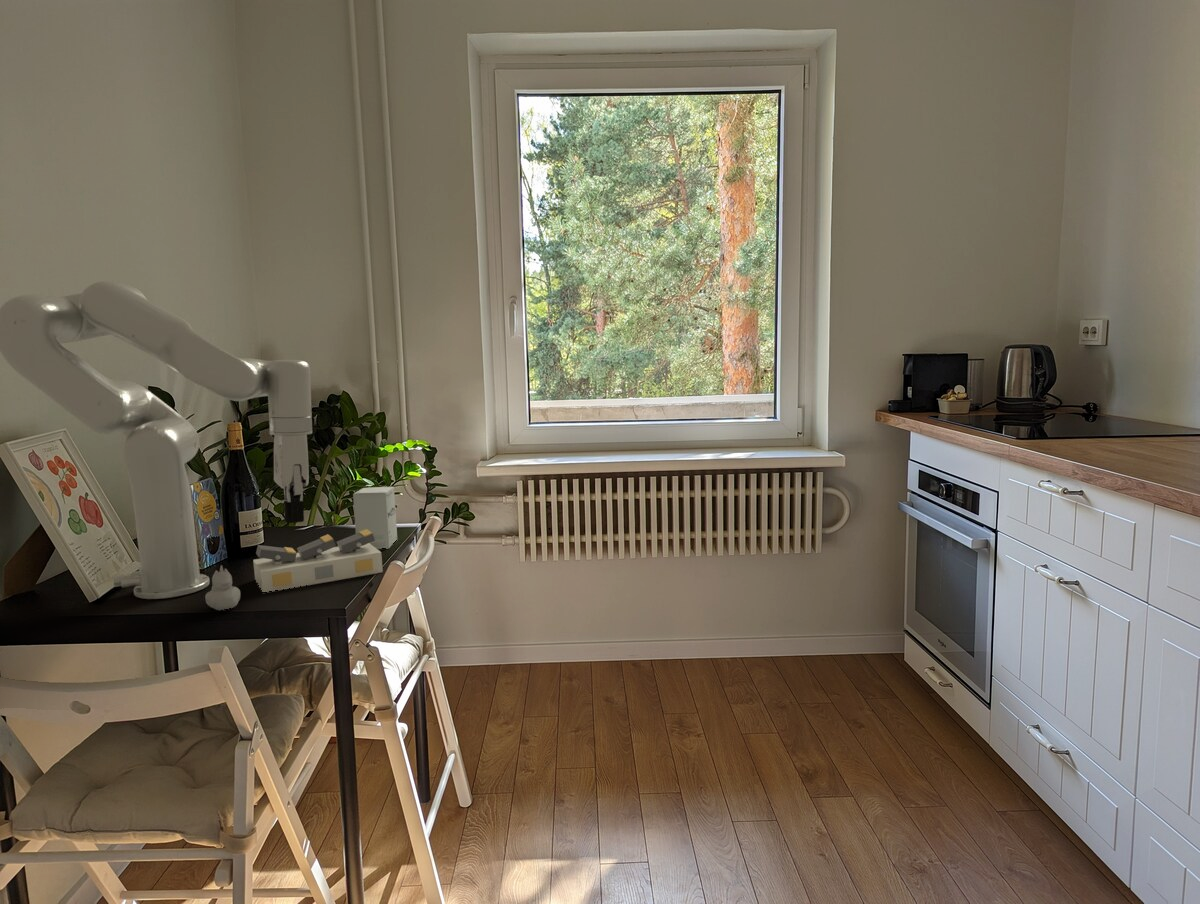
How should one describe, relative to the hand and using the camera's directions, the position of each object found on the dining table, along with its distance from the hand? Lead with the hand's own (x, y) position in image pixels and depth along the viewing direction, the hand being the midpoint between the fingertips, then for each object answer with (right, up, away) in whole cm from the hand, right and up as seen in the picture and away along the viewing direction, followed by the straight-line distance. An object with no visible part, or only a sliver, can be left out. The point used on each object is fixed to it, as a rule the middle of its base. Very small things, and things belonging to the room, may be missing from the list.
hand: (294, 521), depth 154 cm
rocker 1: (-3, -6, -1) cm, 7 cm away
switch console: (+4, -11, +3) cm, 12 cm away
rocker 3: (+10, -5, +6) cm, 13 cm away
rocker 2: (+4, -5, +2) cm, 7 cm away
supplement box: (+9, -8, +26) cm, 28 cm away
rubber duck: (-7, -14, -14) cm, 21 cm away
